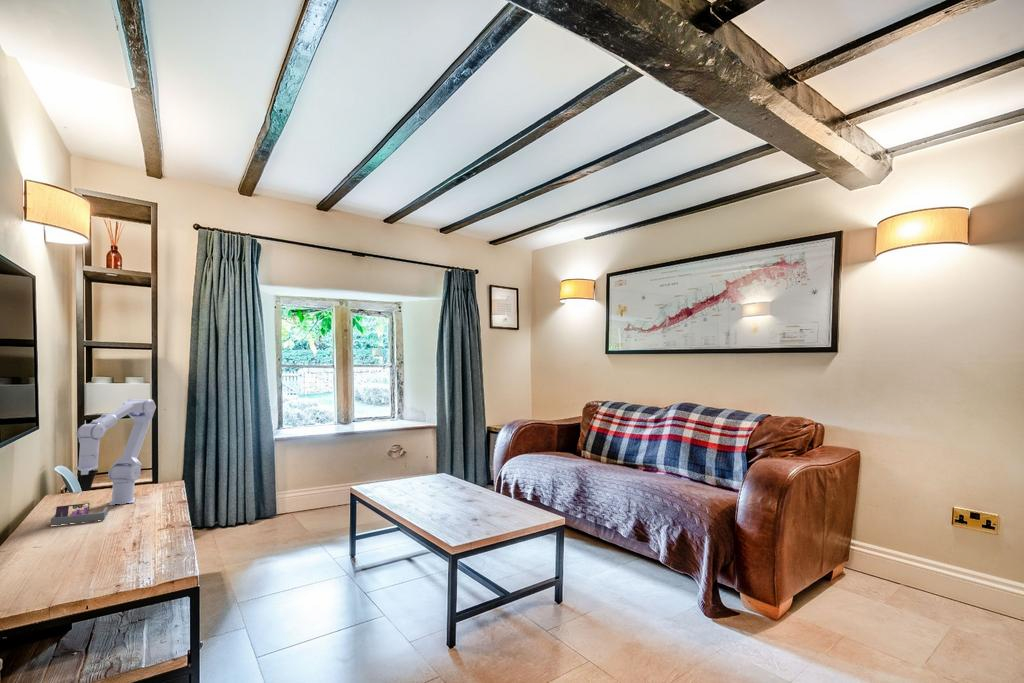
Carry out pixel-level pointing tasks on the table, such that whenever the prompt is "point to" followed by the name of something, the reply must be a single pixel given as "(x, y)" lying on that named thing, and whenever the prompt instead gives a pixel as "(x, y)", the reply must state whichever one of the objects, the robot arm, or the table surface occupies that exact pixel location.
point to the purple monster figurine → (63, 511)
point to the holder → (79, 518)
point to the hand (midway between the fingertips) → (86, 490)
